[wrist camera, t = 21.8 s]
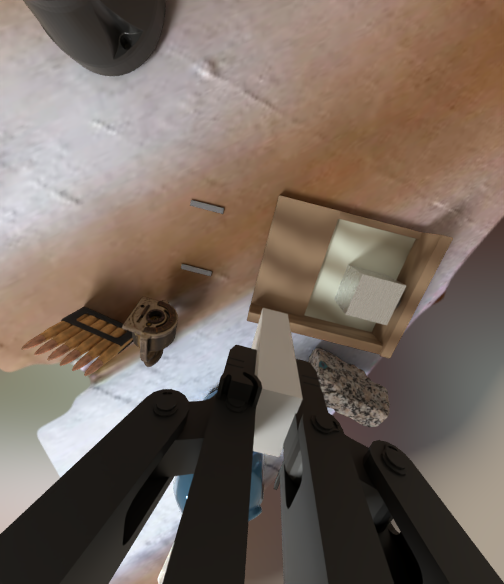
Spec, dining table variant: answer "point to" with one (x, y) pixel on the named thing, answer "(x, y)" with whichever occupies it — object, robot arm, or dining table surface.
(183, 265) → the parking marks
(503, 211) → the dining table surface
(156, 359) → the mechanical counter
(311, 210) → the wooden shallow box
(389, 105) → the dining table surface
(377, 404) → the rock
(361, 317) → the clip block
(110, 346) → the ammunition clip
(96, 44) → the robot arm
